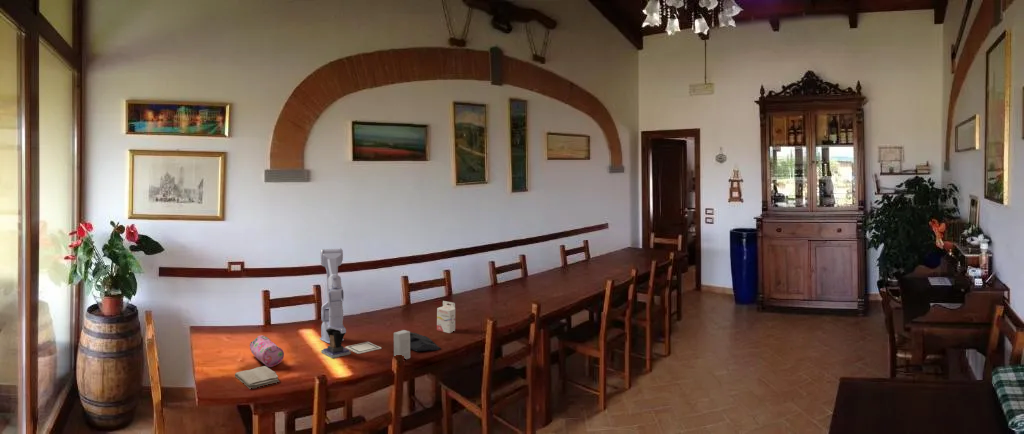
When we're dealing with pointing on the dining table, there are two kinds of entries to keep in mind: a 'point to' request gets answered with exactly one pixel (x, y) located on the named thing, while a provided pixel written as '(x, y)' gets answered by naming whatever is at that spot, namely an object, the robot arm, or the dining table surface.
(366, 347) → the print card
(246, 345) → the dining table surface
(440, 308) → the ink cartridge box
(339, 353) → the ink pad
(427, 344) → the dark slate chunk
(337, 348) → the stamp
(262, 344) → the pencil case
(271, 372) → the washcloth
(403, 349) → the skincare box
